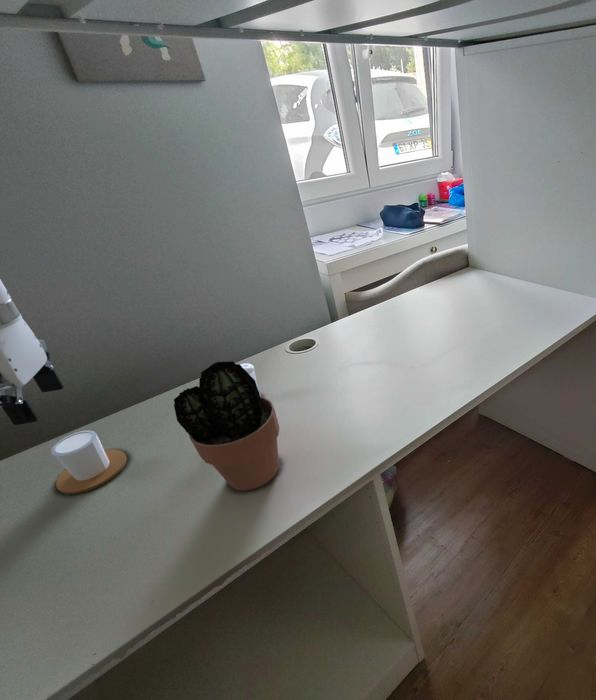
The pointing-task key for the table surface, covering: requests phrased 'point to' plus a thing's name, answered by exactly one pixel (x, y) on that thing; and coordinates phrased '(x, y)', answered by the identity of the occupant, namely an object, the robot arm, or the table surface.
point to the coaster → (73, 486)
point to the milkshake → (250, 372)
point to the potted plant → (231, 425)
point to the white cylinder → (81, 455)
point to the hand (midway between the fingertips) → (41, 405)
